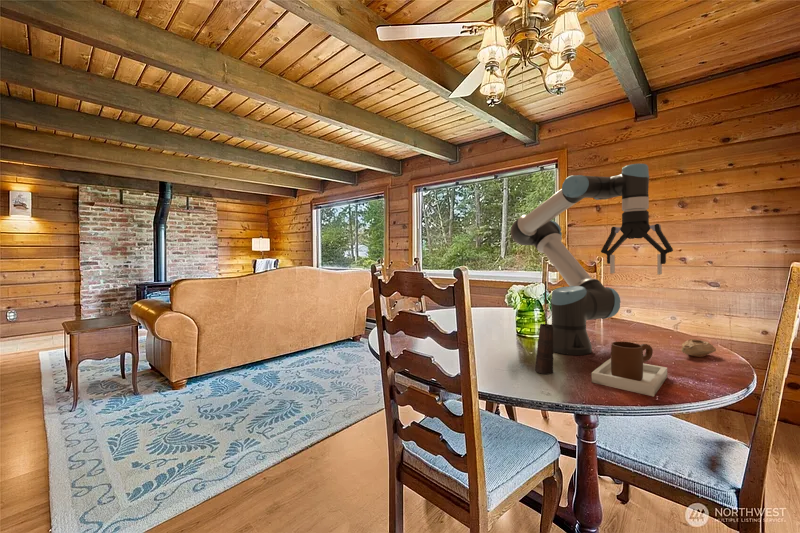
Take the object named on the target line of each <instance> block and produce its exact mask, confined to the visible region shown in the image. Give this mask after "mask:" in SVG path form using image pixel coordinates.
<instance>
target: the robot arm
mask: <svg viewBox="0 0 800 533" xmlns="http://www.w3.org/2000/svg"><path fill="white" fill-rule="evenodd" d="M649 174H650V171H649V165H648V164H646V163H631V164H628V165H625V166H623V167H622V168H621V173H620V174H618V175H612V176H596V175H595V176H594V175H583V174H578V175H577V174H576V175H575V174H574V175H569V176H567V177H566V178H565V179H564V181H563V183H562V186H561V188H560V189H559V190H558V191H556V192H555V193H554V194H552V195H551V196H550V197H549V198H547V199H546V200H544V202H542V203H540V204H539V205H538V206H537V207H535V208H534V209H533V210H531V211H530V212H529V213H527V214H523V215H522V216H521V215H520V217H518V218H517V219H516V220H514V222H513V224H512V225H511V228H510V236H511V239H512V240H513V241H514V242H515V243H516V244H518V245H520V246H533V247H535V249H536V250H537V251H538V253H541V254H544V255H545V256H546V257H547V259H548V260H549V261H550V263H551V264H552V265H553V266H554V268H555V270H556V271H557V272H558V273H559V275H560V276H561V277H562V279H563V280H564V281H565V283H566V284H567V285H568V286H561V287H557V288H555V289H553V290H552V292H551V299H550V303H551V304H550V306H551V324H552V325H553V342H554V343H553V353H557V354H560V355H561V354H562V355H568V356H570V355H571V356H585V355H590V354H591V353H592V352H593V351H592V350H593V349H592V348H593V347H592V343H591V340H590V337H589V334H588V332H587V321H592V320H606V319H609V318H613V317H615V315H617V313H619V310H620V308H621V297H620V294H619V293H618V292H617V290H616V289H615V288H614V289H613V288H612V287H607V286H606V287H605V285H603V283H602V281H600V280H599V279H597V278H593V277H591V275H590V274H589V273H588V272H587V270H585V268H584V267H583V266H582V265H581V264H580V262H579V261H578V259H576V258H575V256H574V255H573V254H572V253H571V252H570V250H569V249H568V248H567V247H566V245H565V244H564V243H563V242H562V240H563V236H562V235H563V232H561V231H562V228H561V226H560V225H559V224H558V222H556V221H554V220H553V219H555V218H556V217H558V216H559V215H561V214H562V213H564V212H565V211H566V210H568V209H570V208H571V207H572V206H574V205H575V204H577V203H579V202H580V201H582V200H584V199H585V198H586V199H591V198H592V199H594V200H596V201H599V200H600V201H601V200H608V199H612V198H617V197H621V211H623V212H622V213H621V226H620V227H619V226H612V227H611V229H610V234H609V236H608V237H607V238H606V240H605V243H604V245H603V246H602V248H601V250H600V252H601V254H605V255H606V263H607V265H609V273H610V274H615V273H616V271H615V270H616V266H615V265H616V262H615V261H616V259H615V258H616V255H615V254H613V253H614V252H615V251H616V250H617V249H618V248H619V247H621V245H622V244H623V243H624V242H625V241H626V240H628V239H629V240H631V239H632V240H633V239H638V240H639V239H642V238H643V239H644V240H646V241H647V242H648V243H649V244H650V245H651V246H652V247H653V248H654V249H655V250H657V251H658V253H659V254H657V265H656V267H657V269H656V271H657V274H656V275H662V274H663V265H665V264H666V263H667V254H668V253H672V252H673V251H674V249H673V247H672V245H671V244H670V242H669V241H668V239H667V237H666V235H665V234H664V232H663V231H662V227H661V224H660V223H655V224H651V225H650V223H649V222H650V218H649V217H650V214H649V211H648V209H649V207H650V206H649V204H650V202H649V201H650V200H649V198H650V197H649V187H650V186H649V183H650V175H649ZM650 230H652V231H653V232H655V233H656V236H657V237H658V239H659V240H660V242H661V243H662V244H663V246H664V248H665V249H664V248H663V247H662V246H661V245H660V244H659V243H658V242H657V241H656V240H655V239H654V238H653V237H652V236H651V235H650V234H648V233H649V231H650ZM619 232H621V233H622V235H621V236H620V237H619V239H617V240H616V242H615V243H614V244H613V245H612V243H613V241H614V239H615V237H616V236H617V234H618V233H619ZM610 246H611V247H610Z"/></svg>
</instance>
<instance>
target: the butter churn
mask: <svg viewBox="0 0 800 533" xmlns="http://www.w3.org/2000/svg"><path fill="white" fill-rule="evenodd" d="M547 283H548V282H547V281H546V280H545V281H544V319H545V320H544V321H545V322H544V323H540V325H539V331H538V332H539V333H538V340H537V348H536V349H537V350H536V357H535V364H534V365H535V368H534V370H535V372H536V373H539V374H544V375H547V374H553V373H554V352H553V343H554V342H553V325H552V323H551V324H549V323H548V313H547V312H548V311H547V310H548V308H547V307H548V306H547V305H548V303H547V299H548V298H547V297H548V295H547V292H548V291H547V289H548V288H547V286H548V285H547Z"/></svg>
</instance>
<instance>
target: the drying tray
mask: <svg viewBox="0 0 800 533" xmlns="http://www.w3.org/2000/svg"><path fill="white" fill-rule="evenodd" d="M667 378H668V367H665V366H661V365H660V366H659V365H654V364H648V363H645V362H643V378H642V380H641V381H636V380H632V379H627V378H622V377H617V376H612V374H611V357H610V358H609V359H606V361H605V362H603V363H602V364H601V365H599V366H597V368H595V369H594V370H593V371H592V372H591V383H593V384H597V385H602V386H606V387H610V388H615V389H619V390H623V391H628V392H632V393H637V394H641V395H646V396H648V397H649V396H650V397H655V396H656V394H657V393H658V391H659V390H660V388H661V387H662V385H663V384H664V382H666V379H667Z"/></svg>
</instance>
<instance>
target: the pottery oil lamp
mask: <svg viewBox="0 0 800 533" xmlns="http://www.w3.org/2000/svg"><path fill="white" fill-rule="evenodd" d="M680 350H681V352H682V353H683V354H685V355H688V356H689V355H690V356H692V357H696V358H698V357H699V358H702V357H705V356H708V355H711V354H712V353H714V352H716V351H717V348H716V347H715V345H713V344H711V343H710V342H709V341H706V340H702V339H696V338H690V339H687V340H686V341H684V342H683V343H682V344H681V349H680Z"/></svg>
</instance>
